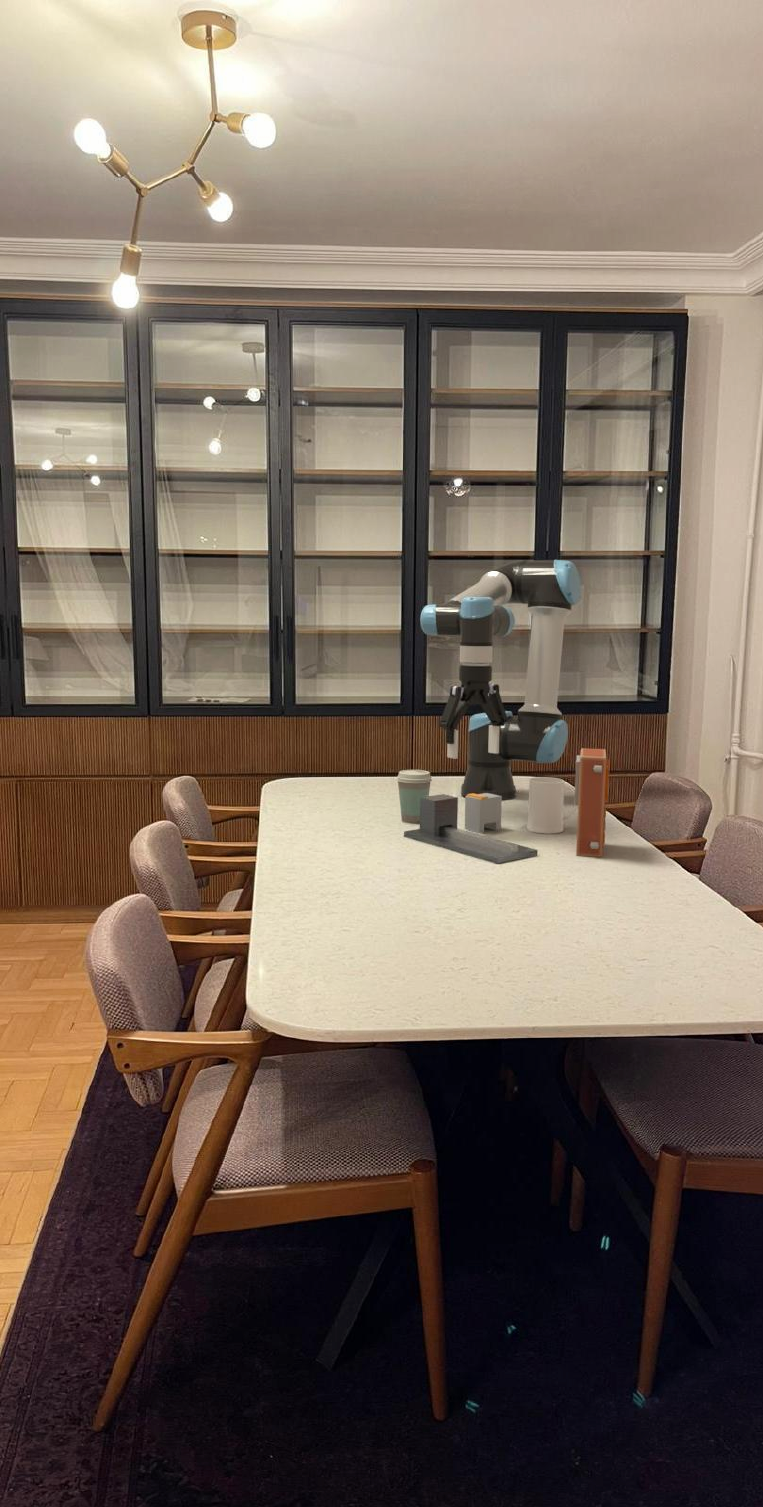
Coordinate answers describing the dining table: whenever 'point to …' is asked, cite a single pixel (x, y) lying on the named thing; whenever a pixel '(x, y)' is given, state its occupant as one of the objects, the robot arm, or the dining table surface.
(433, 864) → the dining table surface
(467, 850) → the rail board
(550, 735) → the robot arm
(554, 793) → the mug
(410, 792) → the coffee cup
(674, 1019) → the dining table surface
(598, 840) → the control panel
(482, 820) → the module
